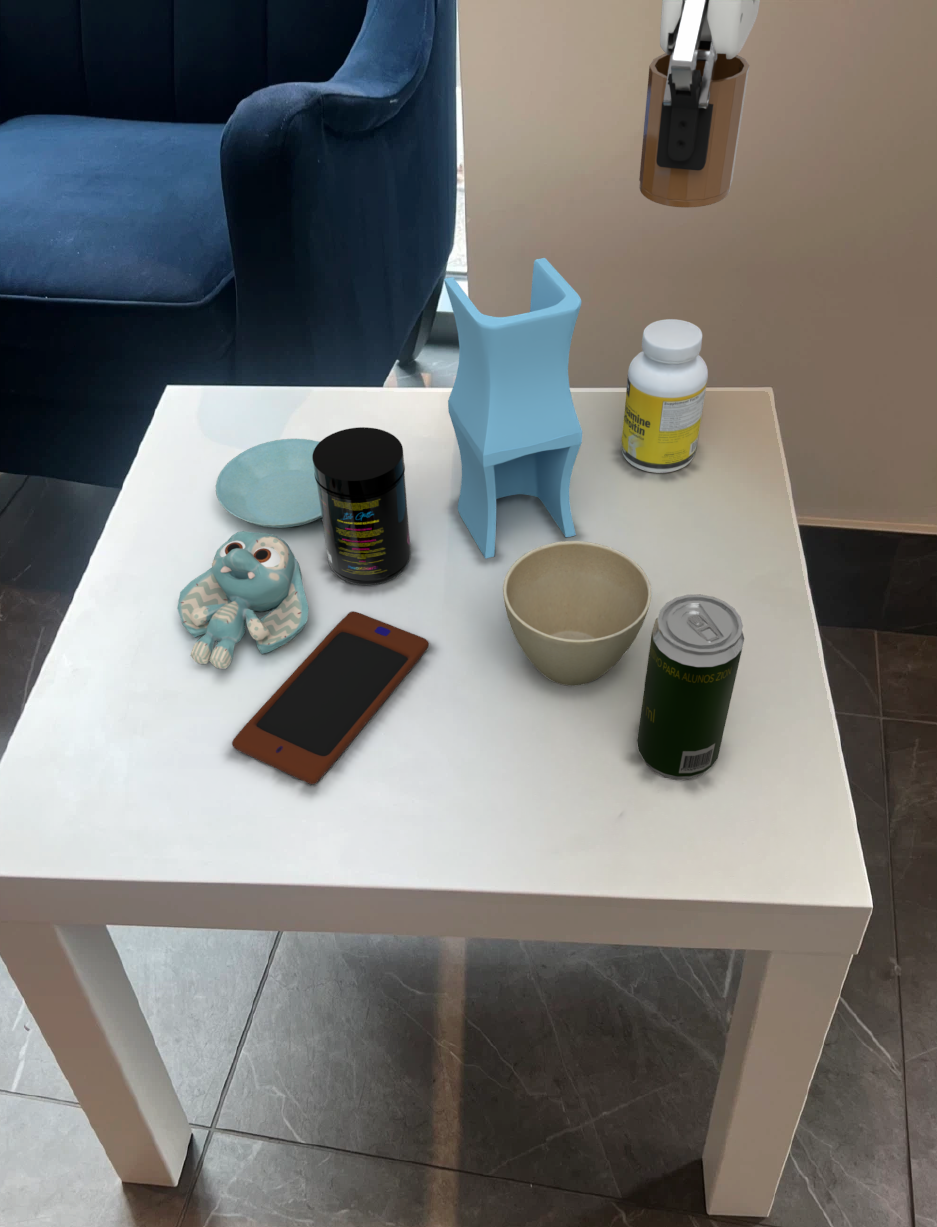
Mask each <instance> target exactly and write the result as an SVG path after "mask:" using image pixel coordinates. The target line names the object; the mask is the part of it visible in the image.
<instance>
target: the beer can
mask: <svg viewBox="0 0 937 1227" xmlns="http://www.w3.org/2000/svg"><path fill="white" fill-rule="evenodd" d="M742 620H743V619H742V617H741V615H740V614H739V612H738V611H737V610H736V609H735V608H734V607H733V606H732V605H730V604H729V603H728V602H726V601H725V600H722V599H720V598H717V597H715V596H712V595H706V594H701V593H700V594H698V593H697V594H685V595H681V596H676V597H674V598H673V599H670V600H669V601H667V602H665V604H664V605H663V606H662V607H661V609H660V610H659V613H658V616H657V618H656V619H655V620H654V622H653V626H652V630H651V634H650V642H649V650H648V657H647V665H646V671H645V679H644V687H643V693H642V701H641V707H640V715H639V723H638V730H637V736H636V737H637V738H636V742H637V750H638V753H639V754H640V756H641V758H642V759H643V761H644V763H645V765H646V767H648V768H649V769H650V770H651V771H653V772H654V773H655V774H657V775H659V776H661V777H663V778H666V779H670V780H675V781H686V780H687V781H688V780H691V779H694V778H697V777H698V778H699V777H700V776H702V775H703V774H704V773H706V772H707V771H709V770H710V769H711V768H712V767H713V766H714V764H715V763H716V762H717V761H718V759H719V755H720V750H721V746H722V743H723V742H722V741H723V737H724V732H725V728H726V725H727V724H726V723H727V719H728V714H729V711H730V710H729V709H730V706H731V701H732V696H733V692H734V689H735V683H736V679H737V675H738V674H737V673H738V670H739V665H740V661H741V656H742V652H743V647H744V642H745V636H744V633H743V628H744V625H743V621H742Z"/></svg>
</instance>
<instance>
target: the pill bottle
mask: <svg viewBox="0 0 937 1227" xmlns="http://www.w3.org/2000/svg"><path fill="white" fill-rule="evenodd" d="M702 344H703V332H702V330H701V328H700V327H699V326H697V325H696V324H694V323H692V322H689V321H688V320H687V321H686V320H683V319H676V318H667V319H666V318H665V319H660V320H656V321H653V322H651V323H649V324H648V325H646V327H645V328H644V329H643V333H642V340H641V350H642V351H640V352H638V353H637V354H636V355H635V356H634V357H633V359H632V360H631V362H630V364H629V366H628V369H627V370H628V371H627V378H626V389H625V390H626V391H625V392H626V393H625V402H624V411H623V422H622V431H621V440H620V442H621V443H620V448H621V454H622V456H623V458H624V459H625V460H626V461H627V462H628V463H629V464H630V465H632V466H633V467H635V468H637V469H639V470H641V471H644V472H649V473H655V474H656V473H657V474H665V473H671V472H675V471H678V470H681V469H683V468H684V467H686V466H688V465H689V464H690V463H691V462H692V461H693V459H694V457H695V455H696V452H697V447H698V440H699V434H700V428H701V422H702V415H703V410H704V404H705V397H706V392H707V386H708V377H709V370H708V366H707V363H706V362H705V360H704V359H703V357H702V356H701V355H700V354H701V350H702Z"/></svg>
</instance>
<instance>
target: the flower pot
mask: <svg viewBox="0 0 937 1227" xmlns="http://www.w3.org/2000/svg"><path fill="white" fill-rule="evenodd" d="M502 594H503V603H504V608H505V614H506V617H507V620H508V623H509V626H510V628H511V631H512V633H513V636H514V637H515V639H516V642H517V643H518V645H519V647H520V649H521V650H522V652H523V654H524V655H525V656H526V658H527V659H528V660H529V661H530V663H531V664H532V666H534V668H535V669H536V670H537V671H538V672H539V673H540V674H542V676H544V677H545V678H546V679H548V680H549V681H551V682H553V683H556V684H559V685H562V686H571V687H576V686H583V685H588V684H591V683H592V682H594V681H595V680H598V679H599V678H600V677H602V676H603V675H605V674H606V673H607V672H609V670H611V669H612V668H613V667H614V666H615V665H616V664H617V663H618V662H619V661H620V660H621V659H622V657H624V655H625V654H626V653H627V651H629V648H630V647H631V646H632V645H633V643H634V641H635V640H636V638H637V636H638V634H639V633H640V631H641V629H642V626H643V624H644V623H645V620H646V618H647V615H648V612H649V609H650V606H651V602H652V586H651V582H650V580H649V578H648V576H647V574H646V572H645V571H644V569H643V568H642V567H641V566H640V565H639V564H638V563H637V562H636V561H635V560H634V559H632V558H631V557H630V556H629V555H627V554H625V553H623V552H621V551H620V550H617V549H615V548H614V547H610V546H607V545H604V544H601V543H596V542H592V541H583V540H564V541H563V540H562V541H556V542H550V543H547V544H543V545H541V546H538V547H535V548H533V549H531V550H529V551H527V552H526V553H524V554H523V555H522V556H520V557H518V559H517V560H515V561H514V562H513V563H512V564H511V566H510V567H509V569H508V570H507V572H506V574H505V577H504V580H503V584H502Z"/></svg>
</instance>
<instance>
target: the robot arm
mask: <svg viewBox="0 0 937 1227" xmlns="http://www.w3.org/2000/svg"><path fill="white" fill-rule="evenodd" d="M760 3H761V0H662V1H661V12H660V13H661V15H660V16H661V17H660V27H659V28H660V30H659V31H660V32H659V46H660V48H661V50H662V52H664V54H665V53H666V54H667V55H670V54H671V56H670V63H669V69H668V75H667V81H666V87H665V94H664V101H663V102H662V109H661V119H660V129H659V139H658V149H657V159H656V162H657V165H658V166H660V167H666V168H676V169H687V170H702V169H703V168H704V166H705V163H706V158H707V150H708V143H709V135H710V127H711V120H712V112H713V105H714V104H709V99H710V94H711V88H712V82H713V77H714V71H715V65H716V60H717V54H718V53H720V54H726V59H732V58H734V57H735V56H736V55H739V53H741V51H742V49H743V47H744V46H745V43H746V41H747V40H748V38H749V36H750V33H751V32H752V30H753V28H754V25H755V23H756V20H757V18H758V14H759V10H760ZM698 49H710V51H709V50H698ZM696 63H705V67H704V73H703V76H701V73H700V70H695V69H696ZM701 82H702V84H701Z"/></svg>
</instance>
